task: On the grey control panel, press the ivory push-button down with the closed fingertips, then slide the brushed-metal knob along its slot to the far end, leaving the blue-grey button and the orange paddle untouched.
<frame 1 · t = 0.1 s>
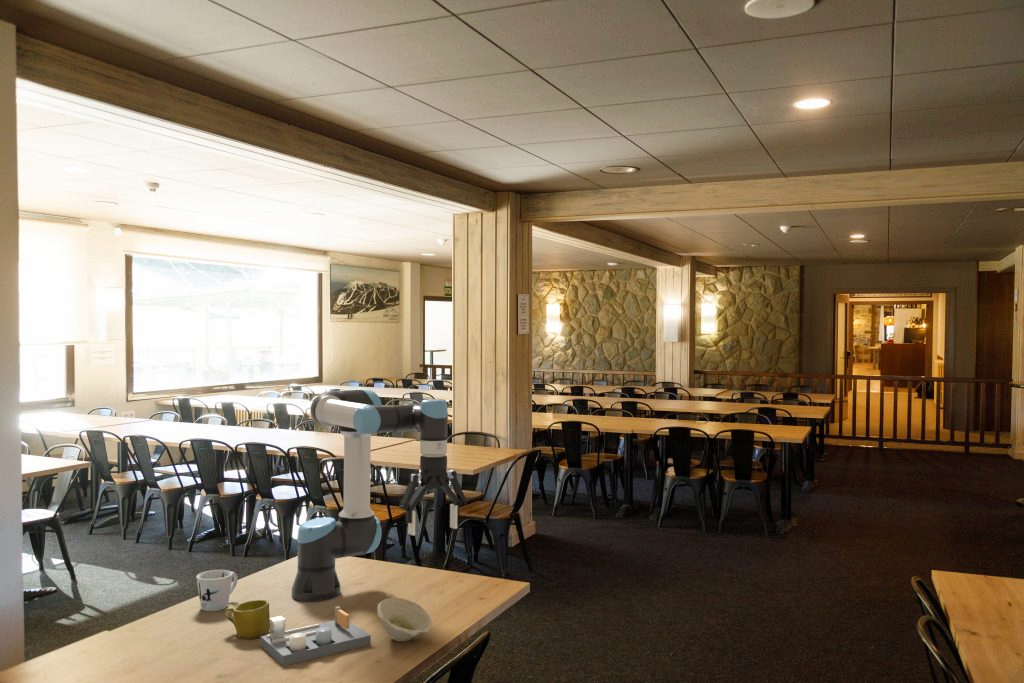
hand: (432, 531, 220), 28 cm above the table, fingers open, 13 cm apart
button bluegrey: (323, 636, 206), point 4 cm above the table, slide at 0.0 cm
mug 2: (219, 605, 241), on the table
panel: (315, 645, 210), on the table
paddle: (342, 619, 215), point 5 cm above the table, hinge at 0.0°
bowl: (404, 640, 214), on the table
slider knob: (277, 628, 207), point 5 cm above the table, slide at 0.0 cm
button ivory: (297, 642, 201), point 4 cm above the table, slide at 0.0 cm
mug: (246, 634, 218), on the table
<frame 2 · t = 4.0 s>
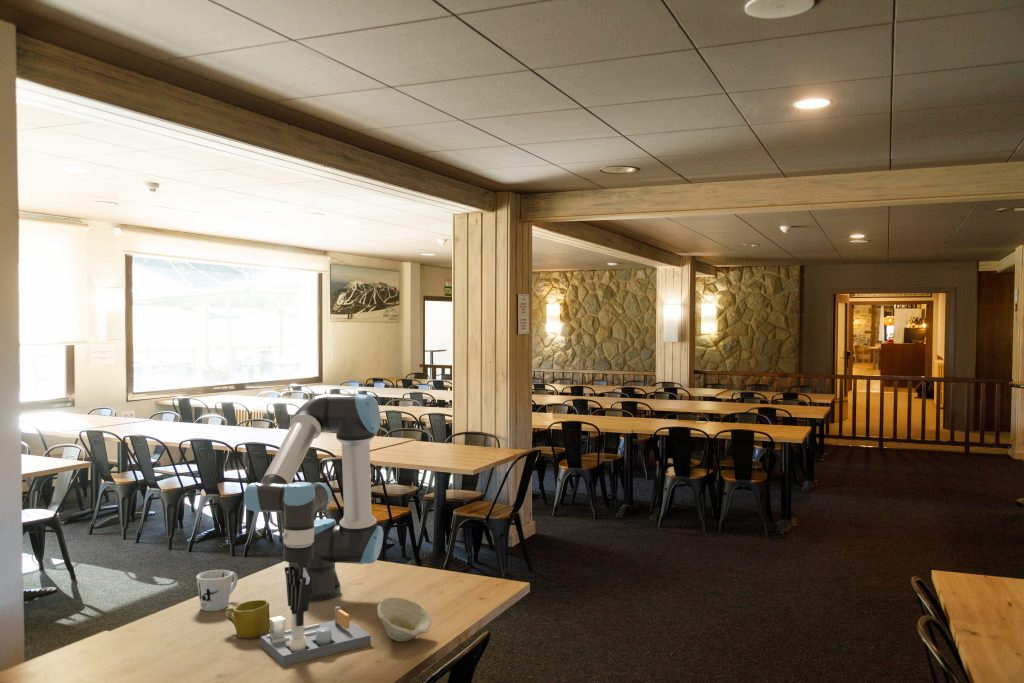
hand: (297, 637, 201), 5 cm above the table, fingers closed
button ivory: (297, 644, 201), point 3 cm above the table, slide at 0.5 cm, touching gripper
everything else where it was.
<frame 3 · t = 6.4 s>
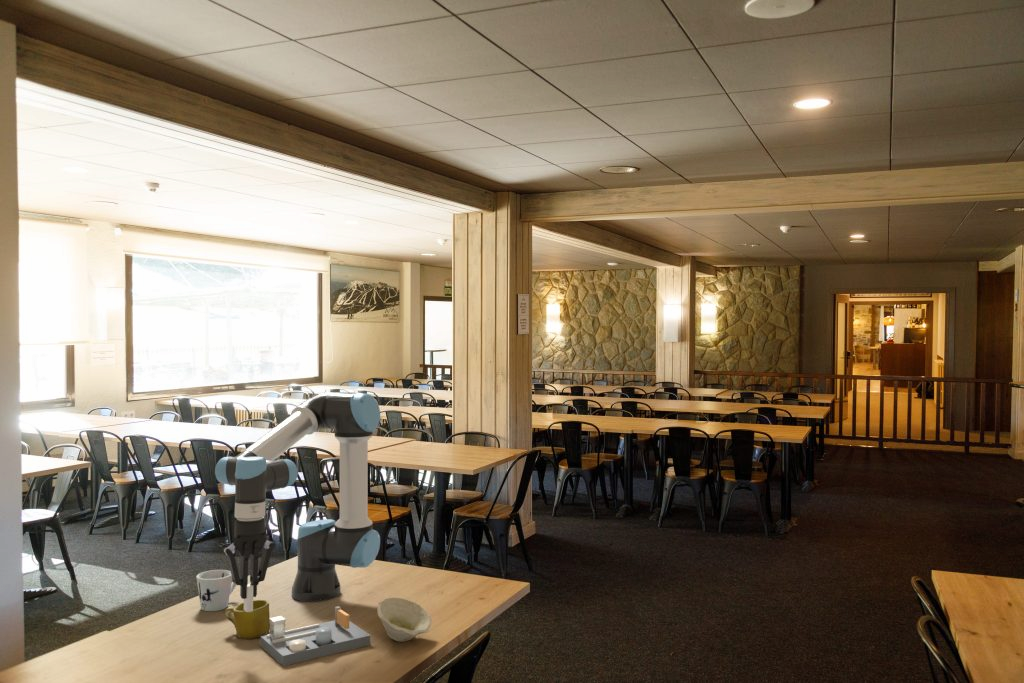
hand: (248, 610, 203), 11 cm above the table, fingers closed
button ivory: (297, 648, 201), point 2 cm above the table, slide at 1.7 cm
everything else where it was.
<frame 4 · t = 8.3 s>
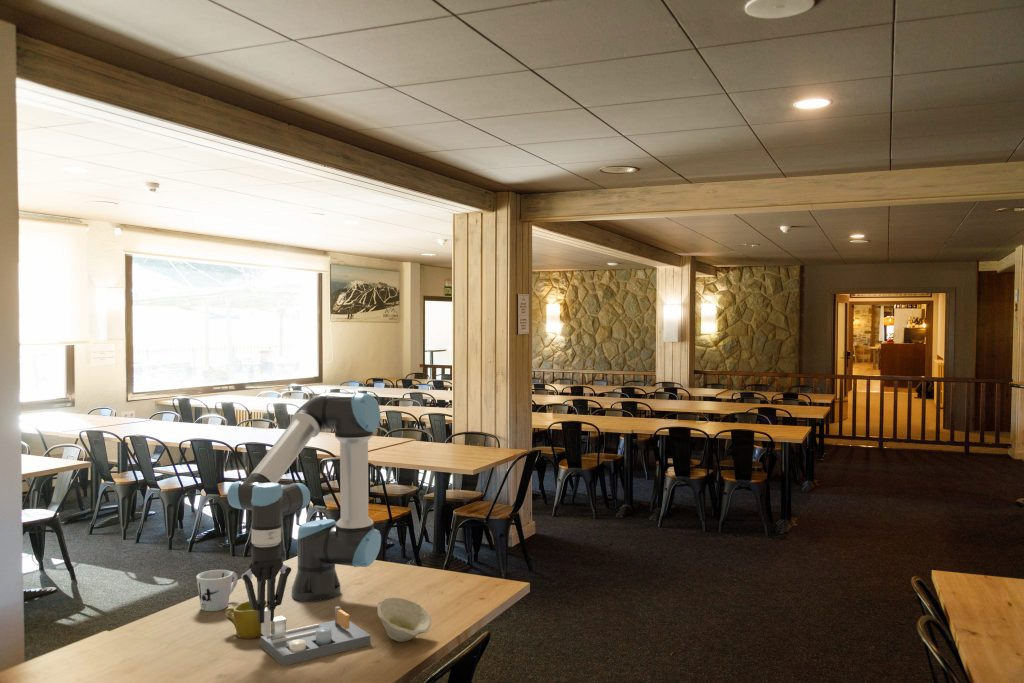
hand: (265, 634, 206), 4 cm above the table, fingers closed
slider knob: (278, 628, 207), point 5 cm above the table, slide at 0.3 cm, touching gripper
everything else where it was.
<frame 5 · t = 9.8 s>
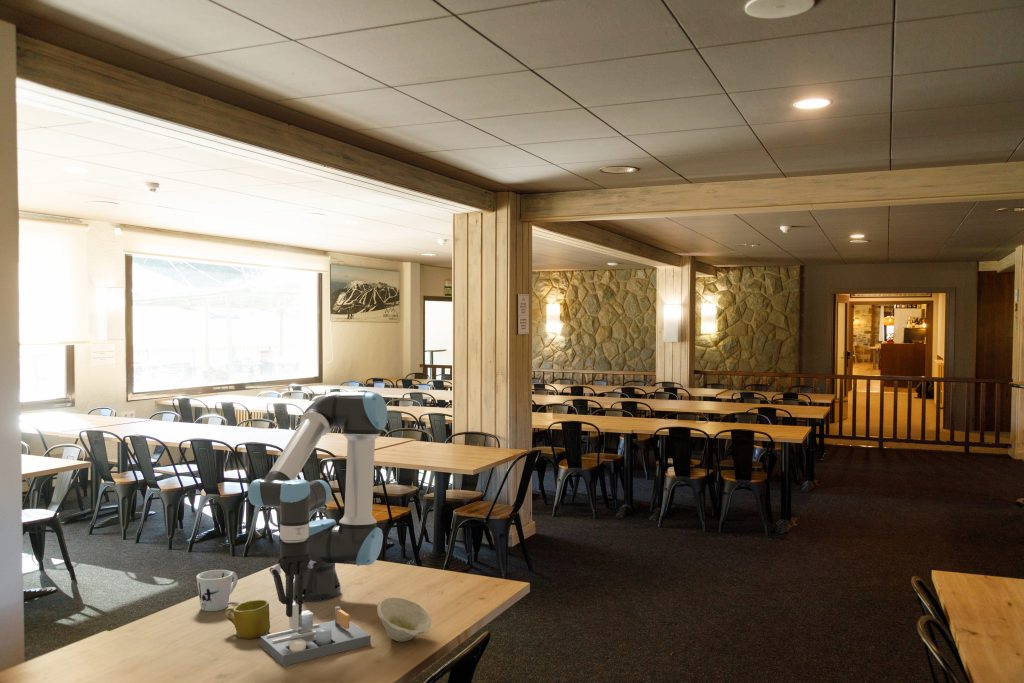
hand: (293, 627, 210), 4 cm above the table, fingers closed
slider knob: (305, 622, 212), point 5 cm above the table, slide at 7.7 cm
everything else where it was.
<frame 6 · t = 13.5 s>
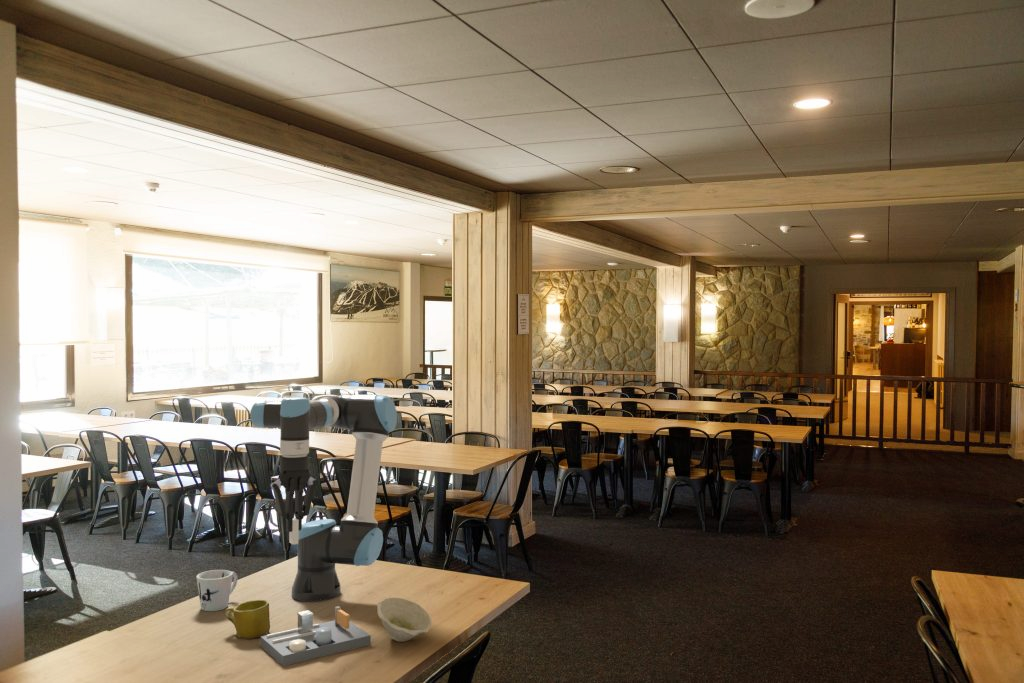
hand: (293, 543, 212), 26 cm above the table, fingers closed
nothing on the table moved.
at the end: button ivory slide at 1.7 cm; slider knob slide at 7.7 cm; button bluegrey slide at 0.0 cm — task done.
